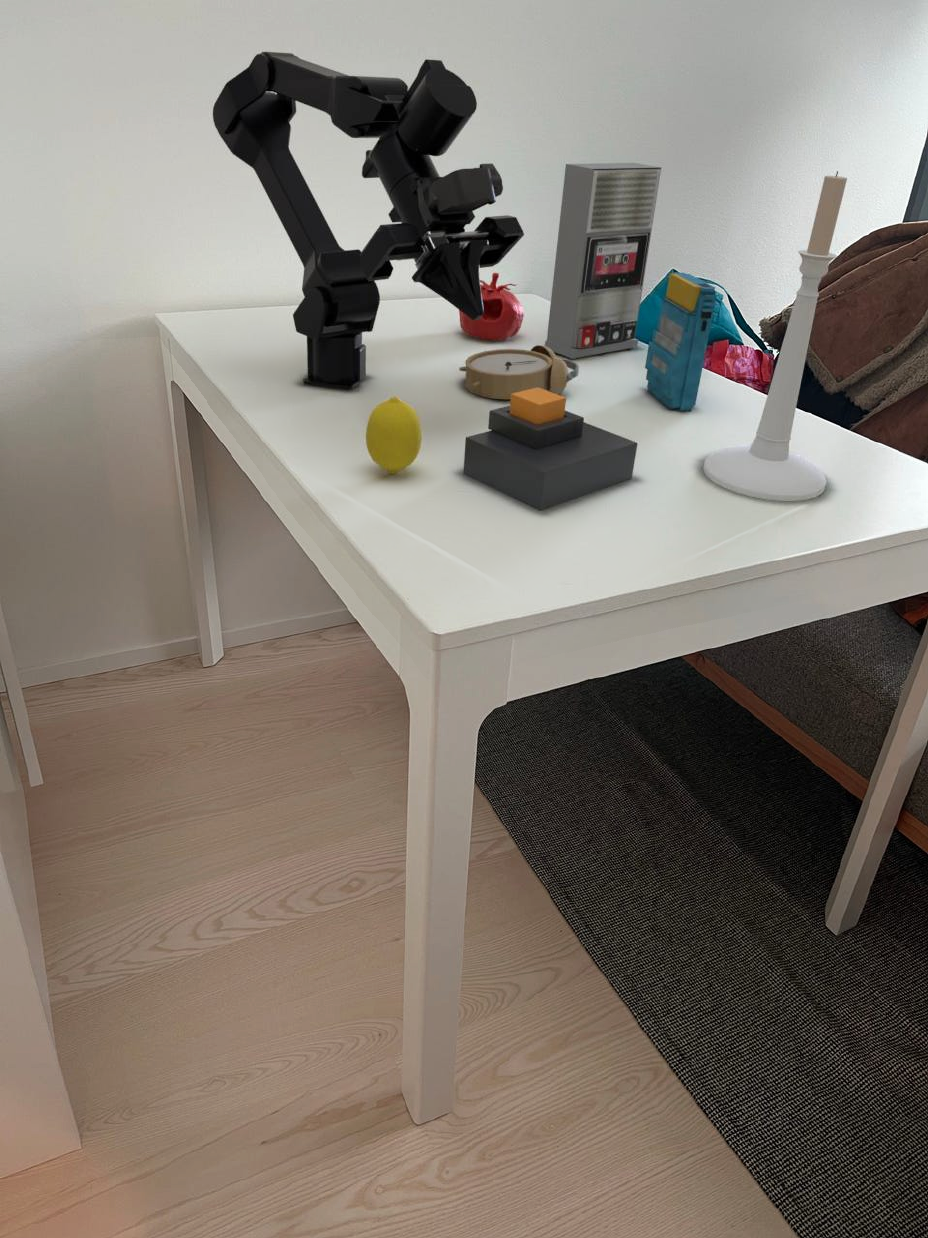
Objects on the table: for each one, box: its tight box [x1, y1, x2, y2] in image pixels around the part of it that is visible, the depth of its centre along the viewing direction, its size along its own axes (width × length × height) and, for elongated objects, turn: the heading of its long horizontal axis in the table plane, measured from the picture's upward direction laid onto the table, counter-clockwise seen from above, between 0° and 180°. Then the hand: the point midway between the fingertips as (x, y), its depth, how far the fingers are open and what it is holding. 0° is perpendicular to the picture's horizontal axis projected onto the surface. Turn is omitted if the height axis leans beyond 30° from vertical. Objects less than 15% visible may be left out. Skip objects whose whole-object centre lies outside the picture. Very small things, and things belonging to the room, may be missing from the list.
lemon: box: [365, 396, 423, 475], centre depth 94 cm, size 6×6×8 cm
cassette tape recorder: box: [544, 162, 662, 360], centre depth 135 cm, size 14×6×25 cm, turn 129°
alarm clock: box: [459, 344, 580, 400], centre depth 122 cm, size 11×5×15 cm
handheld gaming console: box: [644, 271, 717, 413], centre depth 119 cm, size 10×4×15 cm, turn 12°
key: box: [509, 387, 567, 425], centre depth 96 cm, size 4×4×2 cm
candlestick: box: [702, 170, 848, 502], centre depth 94 cm, size 13×13×30 cm
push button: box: [462, 405, 638, 512], centre depth 97 cm, size 12×14×6 cm
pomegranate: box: [458, 272, 525, 341], centre depth 142 cm, size 10×10×9 cm
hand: (478, 317), depth 98 cm, fingers closed
